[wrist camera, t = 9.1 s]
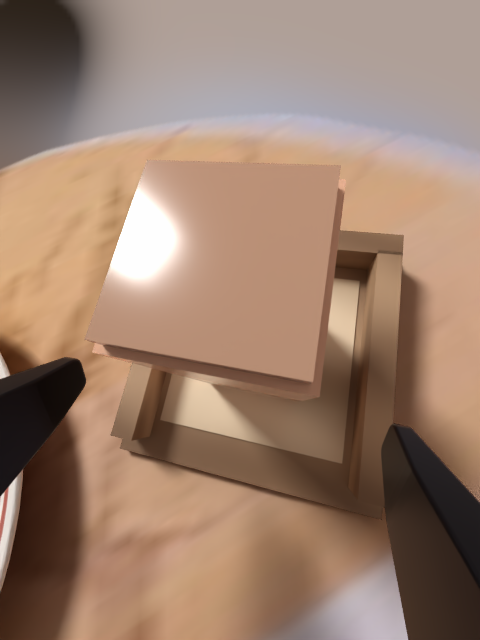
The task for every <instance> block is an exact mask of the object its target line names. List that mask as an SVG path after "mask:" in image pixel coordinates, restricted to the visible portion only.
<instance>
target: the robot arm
mask: <svg viewBox="0 0 480 640" xmlns="http://www.w3.org/2000/svg"><path fill="white" fill-rule="evenodd" d="M85 384H86V378H85V374H84V371H83V368H82V364H81V362H80V361H79V360H78V359H75V358H70V357H64V358H61V359H58V360H55V361H52V362H49V363H46V364H43V365H40V366H37V367H34V368H31V369H28V370H25V371H22V372H19V373H17V374H14V375H11V376H8V377H5V378H2V379H0V497H1V496H2V494H3V493H4V492H5V491H6V489H7V488H8V487H9V486H10V485H11V483H12V482H13V481H14V480H15V478H16V477H17V476H18V475H19V474H20V472H21V471H22V470H23V469H24V467H25V466H26V465H27V464H28V463H29V461H30V460H31V459H32V458H33V456H34V455H35V454H36V453H37V452H38V450H39V449H40V448H41V447H42V445H43V444H44V443H45V442H46V441H47V439H48V438H49V437H50V436H51V434H52V433H53V432H54V430H55V429H56V428H57V426H58V425H59V423H60V422H61V421H62V419H63V418H64V416H65V415H66V413H67V412H68V410H69V409H70V407H71V406H72V404H73V403H74V402H75V400H76V399H77V397H78V396H79V394H80V393H81V391H82V390H83V388H84V387H85ZM381 461H382V474H383V487H384V500H385V512H386V521H387V527H388V533H389V538H390V544H391V549H392V554H393V560H394V565H395V571H396V576H397V581H398V587H399V592H400V597H401V603H402V608H403V613H404V619H405V624H406V629H407V635H408V640H480V502H479V501H478V500H477V499H476V498H475V497H474V496H473V495H472V494H471V492H470V491H469V490H468V489H467V488H466V487H465V486H464V485H463V484H462V483H461V482H460V480H459V479H458V478H457V477H456V476H455V475H454V474H453V473H452V472H451V471H450V469H449V468H448V467H447V466H446V465H445V464H444V463H443V462H442V461H441V460H440V459H439V457H438V456H437V455H436V454H435V453H434V452H433V451H432V450H431V449H430V448H429V446H428V445H427V444H426V443H425V442H424V441H423V440H422V439H421V438H420V437H419V436H418V434H417V433H416V432H415V431H414V430H413V429H412V428H410V427H408V426H404V425H399V424H392V425H391V426H390V427H389V429H388V432H387V434H386V437H385V439H384V442H383V444H382V448H381Z"/></svg>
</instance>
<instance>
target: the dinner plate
mask: <svg viewBox="0 0 480 640" xmlns="http://www.w3.org/2000/svg"><path fill="white" fill-rule="evenodd" d="M8 376H10V373H9V370H8V367H7V365H6V363H5V361H4V359H3V357H2V355H1V353H0V379H2V378H5V377H8ZM22 481H23V470H22V471H21V472H20V474H19V475H18V476H17V477H16V478H15V480H14V481H13V482H12V483H11V485H10V486H9V487H8V488H7V489H6V491H5V492H4V493H3V494H2V496H1V497H0V592H1V589H2V586H3V583H4V579H5V575H6V572H7V568H8V564H9V561H10V556H11V551H12V547H13V542H14V537H15V532H16V526H17V521H18V515H19V510H20V500H21V491H22Z"/></svg>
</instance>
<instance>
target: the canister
mask: <svg viewBox="0 0 480 640" xmlns="http://www.w3.org/2000/svg"><path fill="white" fill-rule="evenodd" d="M340 168H341V166H338V165H304V164H270V163H235V162H201V161H166V160H147V161H146V164H145V167H144V170H143V173H142V176H141V178H140V181H139V184H138V187H137V190H136V193H135V196H134V199H133V201H132V204H131V207H130V210H129V213H128V216H127V219H126V222H125V224H124V227H123V230H122V233H121V236H120V239H119V242H118V245H117V247H116V250H115V253H114V256H113V259H112V262H111V265H110V268H109V270H108V273H107V276H106V279H105V282H104V285H103V288H102V291H101V293H100V296H99V299H98V302H97V305H96V308H95V311H94V314H93V316H92V319H91V322H90V325H89V328H88V331H87V334H86V337H85V339H84V340H87V341H91V342H94V343H95V346H94V349H93V351H92V353H96V354H100V355H103V356H107V357H111V358H115V359H119V360H122V361H126V362H130V363H134V364H138V365H141V366H145V367H149V368H153V369H156V370H160V371H164V372H168V373H172V374H175V375H179V376H183V377H187V378H190V379H194V380H198V381H202V382H206V383H209V384H214V385H219V386H224V387H229V388H234V389H239V390H243V391H248V392H253V393H258V394H263V395H268V396H273V397H278V398H283V399H288V400H293V401H298V402H299V401H304V400H308V399H313V398H318V397H320V390H321V382H322V373H323V365H324V357H325V349H326V340H327V332H328V324H329V315H330V307H331V299H332V291H333V282H334V274H335V266H336V258H337V249H338V241H339V233H340V225H341V216H342V208H343V200H344V192H345V183H346V180H343V179H339V176H340Z"/></svg>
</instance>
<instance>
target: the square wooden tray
mask: <svg viewBox="0 0 480 640" xmlns="http://www.w3.org/2000/svg"><path fill="white" fill-rule="evenodd" d="M403 238H404V235H394V234H381V233H368V232H354V231H341V230H340V233H339V241H338V249H337V258H336V266H335V274H334V282H333V291H332V299H331V307H330V315H329V324H328V332H327V340H326V349H325V357H324V365H323V373H322V382H321V390H320V397H318V398H313V399H308V400H304V401H299V402H298V401H293V400H288V399H283V398H278V397H273V396H268V395H263V394H258V393H253V392H248V391H243V390H239V389H234V388H229V387H224V386H219V385H214V384H209V383H206V382H202V381H198V380H194V379H190V378H187V377H183V376H179V375H175V374H172V373H168V372H164V371H160V370H156V369H153V368H149V367H145V366H141V365H138V364H134V363H132V365H131V368H130V372H129V375H128V378H127V382H126V385H125V389H124V392H123V395H122V399H121V402H120V405H119V409H118V412H117V415H116V419H115V422H114V426H113V429H112V432H111V436H115V437H119V438H123V439H122V443H121V446H120V449H124V450H128V451H131V452H135V453H139V454H142V455H146V456H150V457H153V458H157V459H161V460H164V461H168V462H172V463H175V464H179V465H183V466H186V467H190V468H194V469H197V470H201V471H205V472H208V473H212V474H216V475H219V476H223V477H227V478H230V479H234V480H238V481H241V482H245V483H249V484H252V485H256V486H260V487H263V488H267V489H271V490H274V491H278V492H282V493H285V494H289V495H293V496H296V497H300V498H304V499H307V500H311V501H315V502H318V503H322V504H326V505H329V506H333V507H337V508H340V509H344V510H348V511H351V512H355V513H359V514H362V515H366V516H370V517H373V518H377V519H381V520H382V508H383V507H384V508H385V500H384V487H383V474H382V461H381V448H382V444H383V442H384V439H385V437H386V434H387V432H388V429H389V427H390V426H391V425H392V424H393V419H394V401H395V383H396V365H397V346H398V328H399V310H400V292H401V274H402V256H403Z"/></svg>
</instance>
